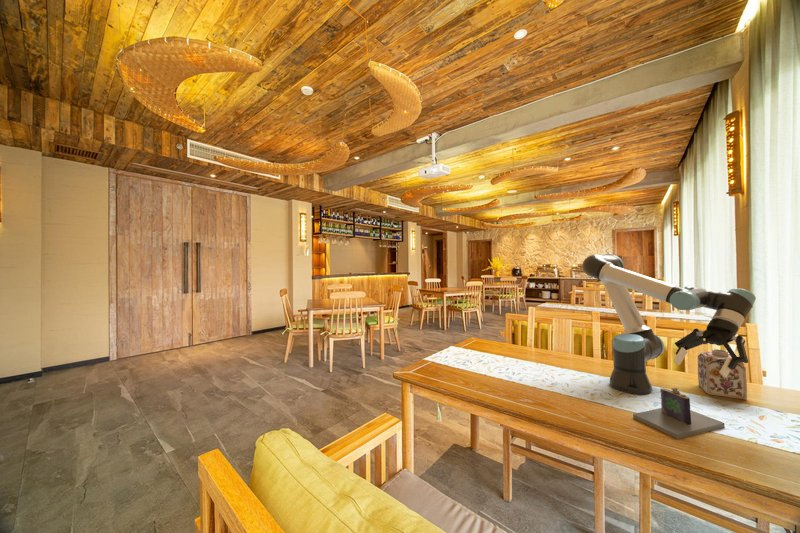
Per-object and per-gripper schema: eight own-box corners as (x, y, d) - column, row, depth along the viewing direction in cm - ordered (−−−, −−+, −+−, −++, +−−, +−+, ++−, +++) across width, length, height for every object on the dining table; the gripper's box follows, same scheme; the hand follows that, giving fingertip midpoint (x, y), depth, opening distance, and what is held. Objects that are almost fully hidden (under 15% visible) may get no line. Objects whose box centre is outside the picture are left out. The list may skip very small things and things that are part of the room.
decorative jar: (748, 400, 117) (746, 356, 117) (707, 394, 123) (705, 352, 123) (735, 389, 127) (733, 348, 127) (697, 384, 133) (696, 345, 133)
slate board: (633, 418, 107) (633, 414, 107) (676, 408, 113) (676, 404, 113) (677, 439, 94) (677, 434, 94) (724, 427, 99) (724, 422, 99)
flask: (659, 412, 108) (658, 383, 108) (666, 411, 108) (665, 382, 108) (687, 425, 99) (686, 393, 99) (694, 424, 99) (693, 393, 99)
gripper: (779, 337, 99) (751, 388, 95) (690, 324, 123) (665, 364, 119) (768, 323, 97) (739, 373, 94) (680, 312, 122) (655, 352, 118)
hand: (698, 368), depth 106 cm, fingers open, 13 cm apart
